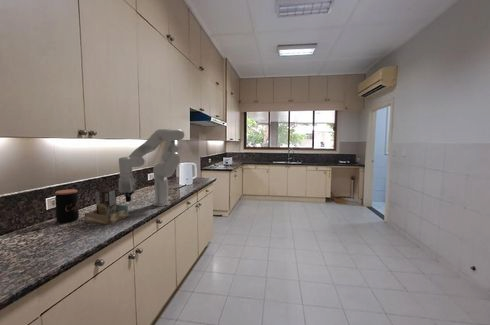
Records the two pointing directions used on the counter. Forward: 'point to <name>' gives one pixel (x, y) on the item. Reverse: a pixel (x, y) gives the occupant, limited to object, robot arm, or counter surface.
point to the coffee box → (106, 202)
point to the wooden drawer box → (105, 217)
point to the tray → (121, 208)
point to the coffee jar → (66, 206)
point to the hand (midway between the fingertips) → (128, 201)
